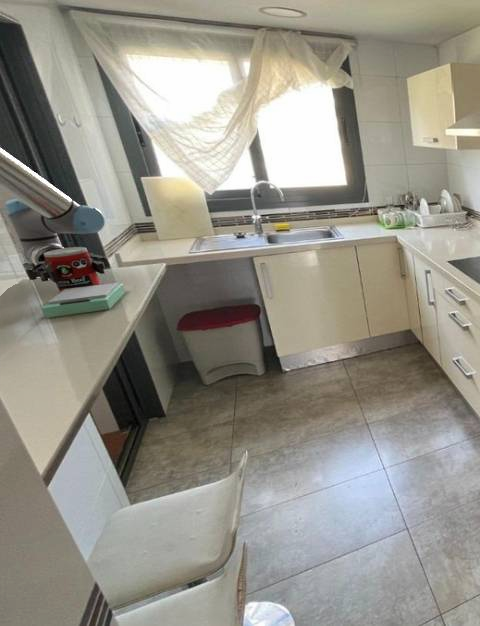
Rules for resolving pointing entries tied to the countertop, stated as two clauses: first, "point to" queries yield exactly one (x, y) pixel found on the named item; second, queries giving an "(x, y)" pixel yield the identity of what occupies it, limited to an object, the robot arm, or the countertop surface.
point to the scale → (83, 300)
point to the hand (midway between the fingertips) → (78, 272)
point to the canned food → (72, 267)
